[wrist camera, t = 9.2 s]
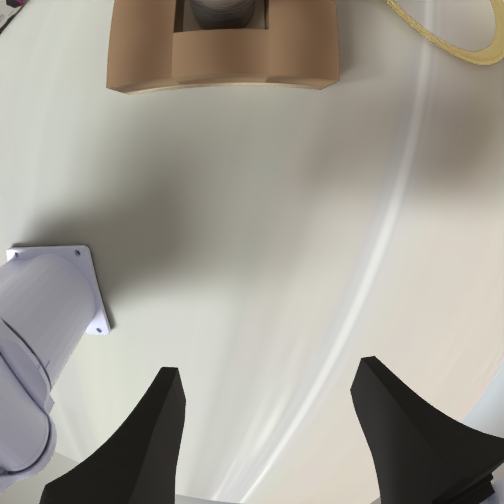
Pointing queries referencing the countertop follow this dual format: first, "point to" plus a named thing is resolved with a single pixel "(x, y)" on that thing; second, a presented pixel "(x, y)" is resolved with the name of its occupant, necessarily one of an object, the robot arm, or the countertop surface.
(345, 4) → the countertop surface
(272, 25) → the socket block
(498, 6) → the yellow rubber band
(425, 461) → the robot arm
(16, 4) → the candy bar box
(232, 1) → the pin
